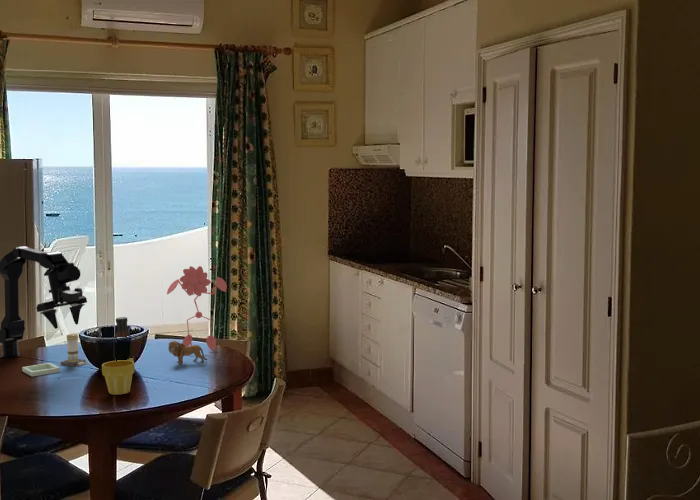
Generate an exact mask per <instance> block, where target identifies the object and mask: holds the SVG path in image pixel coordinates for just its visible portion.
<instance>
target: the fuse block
mask: <svg viewBox="0 0 700 500" xmlns="http://www.w3.org/2000/svg"><path fill="white" fill-rule="evenodd" d="M88 364H89V362H87V361H86V359H84V358H79V361H77V362H74V363H72V362H68V359H65V360H61V361H60V363H58V364H57V366H64V367H65V366H66V367H71V368H72V367H73V368H77V367H80V366H83V365H88Z"/></svg>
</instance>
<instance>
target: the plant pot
mask: <svg viewBox="0 0 700 500" xmlns="http://www.w3.org/2000/svg"><path fill="white" fill-rule="evenodd" d="M135 368H136V367H135V361H134V362H133V361H129V360H117V361H116V360H112V361H107V362H103V363H102V364H101V373H102V376H103V377H104V379H105V384H106V387H107V390H108V393H109V394H110V395H112V396H113V395H114V396H117V395H118V396H119V395H125V394H128V393H130V392H131V385H132V380H133V374H134V373H135V370H136V369H135Z"/></svg>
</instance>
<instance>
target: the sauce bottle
mask: <svg viewBox="0 0 700 500" xmlns="http://www.w3.org/2000/svg"><path fill="white" fill-rule="evenodd" d="M115 322H116V333H115V335H114V338H117V337H127V336H131V333H130V332H129V328H128V317H126V316H122V317H121V316H120V317H116V318H115ZM131 337H132V336H131ZM114 338H113V339H114ZM127 360H129V361H133V362H134V363H135V361H134V357H133V358H129V359H127Z"/></svg>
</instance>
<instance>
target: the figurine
mask: <svg viewBox="0 0 700 500" xmlns="http://www.w3.org/2000/svg"><path fill="white" fill-rule="evenodd" d="M182 271H183V274H184V275H183V276H182V275H181V277H180V278H179V279H176V280H174V281H173V282H172V283H171V284H170V285H169V287H168V288H167V291H166V294H167V295H169V294H171V293H172V292H173V291H174V290H175V289H176V288H177V287H178V284H179V285H180V287H181V289H182V290H184V291H185V293H186V294H187V295H188V297H190V296H193V295H195V296H196V297H195V298H194V299H193V303H194V304H195V308H196V312H195V315H193V316H192V317H190V318H188V319H186V325H187V333H188V334H187V335H186V336H185V337H184V338H183V339H182V344H183V345H184V346H193V343H192V341H193V335H192V334H190V331H189V330H190V329H189V320H191V319H193V318H197V319H201V318H204V319H206V320H209V321H211V328H210V334H209V335H208V336H207V337H206V345H207V348H208V349H210V350H211V351H212V352H213V351H214V350H215V348H216V346H217V340H216V339H215V337H214V336H213V335H212V333H213V325H214V324H213V323H214V320H213V319H211V318H208V317H205V316H203V313H202V312H201V311H199V308H198V304H197V302H196V300H197V299H198V297H201V296H202V294H208V295H215V294H216V290H217V288H218V289H219V290H221V291H222V292H225V293H227V288H228V286H227V283H226V281H225V279H223V278H222V277H219V276H217V277H216V279H215V285H214V286H215V287H214V290H213V292H208V288H207V286H209V285H210V284H211V283H212V282H211V280H210V279H209V278H208V272H206V271H205V272H204V269H203V267H202V265H199V266H197V267H196V268H195V267H194V266H189V268H184V269H183V270H182ZM212 355H216V353H215V354H213V353H212ZM207 356H209V355H208V354H204V357H207Z"/></svg>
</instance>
